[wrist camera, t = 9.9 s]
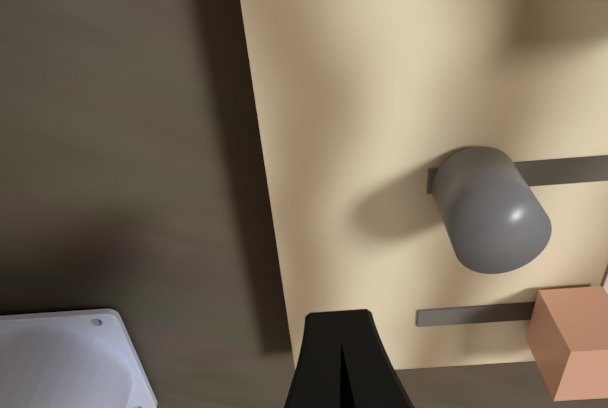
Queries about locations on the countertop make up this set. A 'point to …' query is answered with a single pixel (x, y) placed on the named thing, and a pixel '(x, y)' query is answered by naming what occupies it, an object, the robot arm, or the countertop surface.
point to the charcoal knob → (489, 211)
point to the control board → (428, 159)
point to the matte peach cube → (571, 341)
